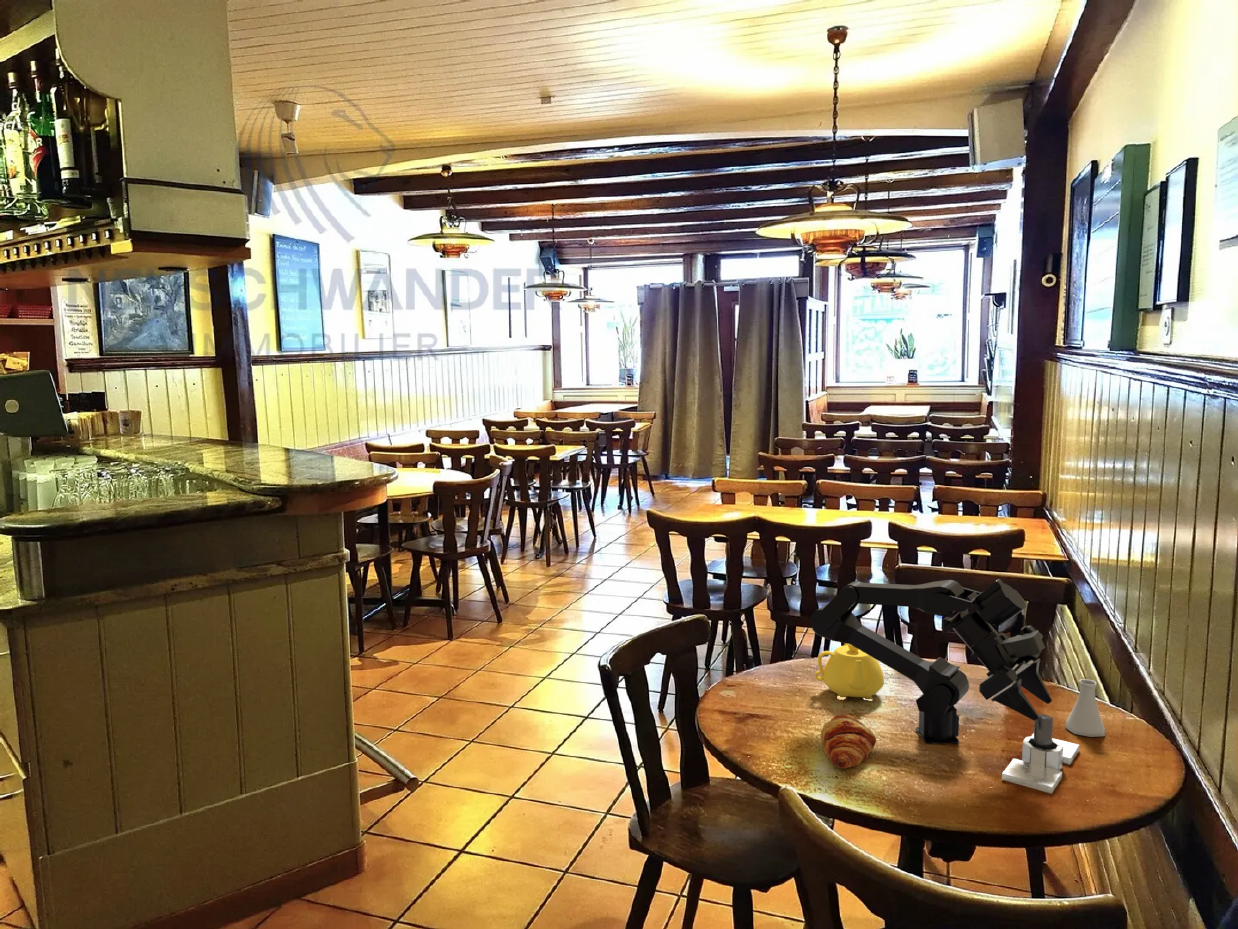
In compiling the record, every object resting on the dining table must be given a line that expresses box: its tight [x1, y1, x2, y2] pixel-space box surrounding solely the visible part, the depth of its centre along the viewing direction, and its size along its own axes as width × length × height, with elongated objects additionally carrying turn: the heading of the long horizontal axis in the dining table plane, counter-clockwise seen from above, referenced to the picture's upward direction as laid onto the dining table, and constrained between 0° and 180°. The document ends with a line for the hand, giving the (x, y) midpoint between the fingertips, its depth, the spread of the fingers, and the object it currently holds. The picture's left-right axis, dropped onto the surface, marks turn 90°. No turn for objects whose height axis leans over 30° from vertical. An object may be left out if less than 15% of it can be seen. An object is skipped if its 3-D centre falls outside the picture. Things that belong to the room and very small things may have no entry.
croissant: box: [820, 714, 877, 769], centre depth 163 cm, size 21×10×8 cm, turn 162°
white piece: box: [1001, 732, 1080, 795], centre depth 156 cm, size 8×20×4 cm, turn 140°
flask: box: [1064, 678, 1106, 738], centre depth 169 cm, size 7×7×10 cm
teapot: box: [814, 643, 885, 699], centre depth 189 cm, size 20×15×12 cm
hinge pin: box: [1033, 713, 1054, 750], centre depth 155 cm, size 3×3×9 cm
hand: (1043, 710), depth 155 cm, fingers open, 9 cm apart
